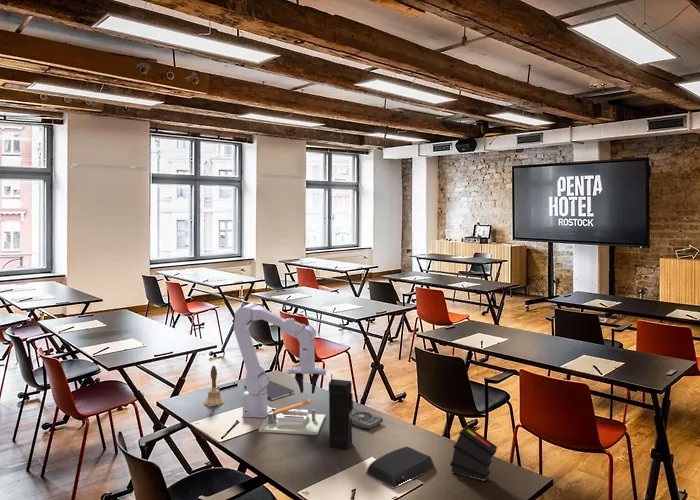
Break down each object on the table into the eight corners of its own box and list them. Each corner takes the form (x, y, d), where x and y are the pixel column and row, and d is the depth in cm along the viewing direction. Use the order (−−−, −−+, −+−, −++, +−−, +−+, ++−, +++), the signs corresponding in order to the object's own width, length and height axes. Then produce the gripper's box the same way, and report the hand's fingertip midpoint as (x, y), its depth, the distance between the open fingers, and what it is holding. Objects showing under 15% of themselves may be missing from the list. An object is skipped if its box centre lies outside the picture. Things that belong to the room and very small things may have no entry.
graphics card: (331, 413, 203) (352, 404, 212) (331, 423, 204) (352, 413, 213) (364, 426, 192) (385, 416, 201) (364, 436, 193) (385, 425, 201)
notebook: (244, 389, 241) (271, 401, 225) (244, 385, 241) (271, 398, 225) (267, 382, 249) (295, 394, 234) (267, 379, 249) (295, 390, 234)
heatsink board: (258, 431, 195) (258, 418, 194) (270, 414, 211) (270, 402, 210) (317, 434, 192) (317, 421, 192) (325, 417, 208) (325, 404, 207)
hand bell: (226, 399, 227) (225, 362, 226) (221, 406, 219) (220, 368, 218) (206, 399, 227) (205, 363, 226) (201, 406, 219) (200, 369, 217)
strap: (270, 417, 201) (268, 413, 201) (272, 414, 204) (271, 410, 204) (310, 404, 198) (309, 401, 198) (312, 401, 201) (311, 398, 201)
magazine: (445, 461, 169) (465, 424, 164) (481, 488, 163) (504, 450, 159) (441, 466, 166) (461, 428, 161) (478, 494, 160) (500, 456, 156)
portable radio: (355, 443, 185) (355, 373, 183) (349, 450, 180) (349, 378, 177) (334, 439, 188) (334, 371, 186) (328, 447, 182) (327, 376, 180)
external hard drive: (363, 474, 165) (363, 461, 164) (405, 454, 178) (405, 442, 178) (394, 491, 155) (394, 477, 155) (436, 468, 168) (436, 456, 168)
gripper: (286, 360, 201) (286, 395, 203) (323, 361, 200) (324, 396, 201) (290, 355, 208) (291, 388, 210) (327, 356, 207) (327, 390, 208)
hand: (307, 392), depth 206 cm, fingers open, 4 cm apart
